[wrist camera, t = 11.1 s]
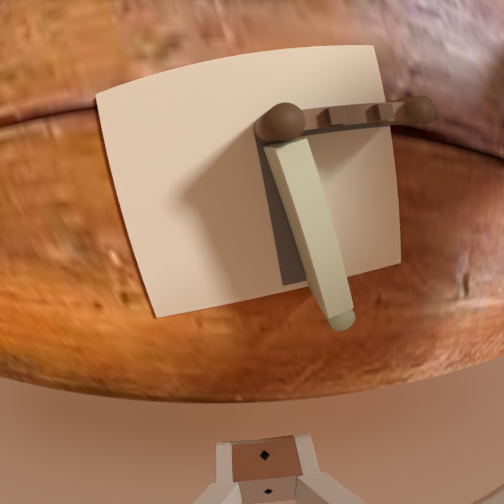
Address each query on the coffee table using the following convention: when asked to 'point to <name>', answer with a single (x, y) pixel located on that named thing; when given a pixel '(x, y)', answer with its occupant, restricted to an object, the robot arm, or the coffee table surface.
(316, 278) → the fence gate panel
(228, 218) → the card
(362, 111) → the fixed fence section
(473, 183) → the coffee table surface
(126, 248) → the coffee table surface
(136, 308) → the coffee table surface
